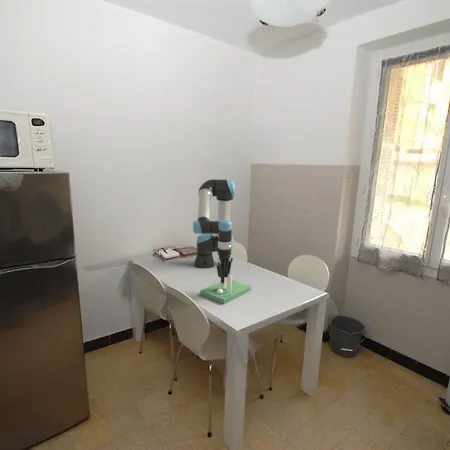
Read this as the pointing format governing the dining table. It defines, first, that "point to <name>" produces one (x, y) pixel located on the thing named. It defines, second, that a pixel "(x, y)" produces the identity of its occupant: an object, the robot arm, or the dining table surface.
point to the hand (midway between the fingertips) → (223, 287)
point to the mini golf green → (226, 291)
